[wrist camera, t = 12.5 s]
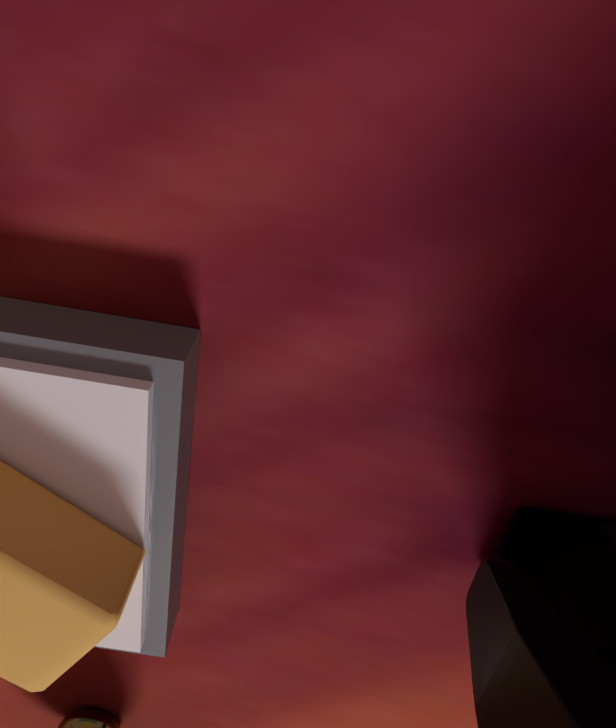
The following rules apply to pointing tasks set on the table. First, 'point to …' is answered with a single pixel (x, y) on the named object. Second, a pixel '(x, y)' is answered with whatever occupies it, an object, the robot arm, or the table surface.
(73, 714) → the cup
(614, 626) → the robot arm
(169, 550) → the dial scale
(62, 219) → the table surface
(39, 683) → the rubber stamp
